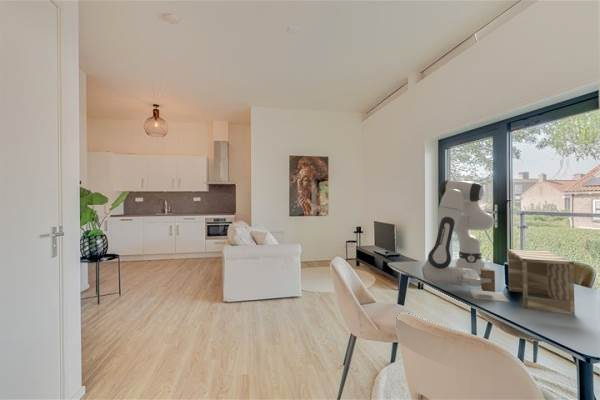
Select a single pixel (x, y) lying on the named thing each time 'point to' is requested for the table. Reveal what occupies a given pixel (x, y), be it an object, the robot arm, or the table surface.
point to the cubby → (542, 279)
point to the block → (488, 274)
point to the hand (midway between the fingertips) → (489, 278)
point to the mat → (488, 295)
